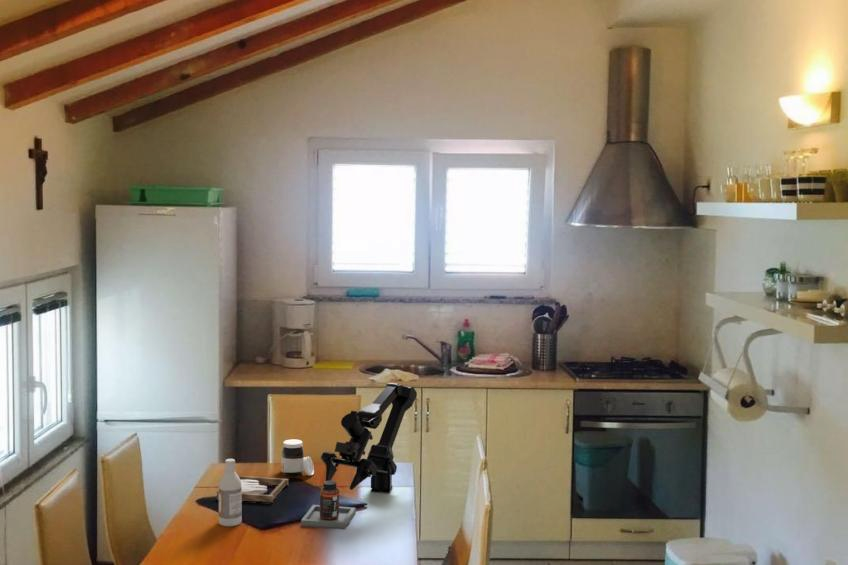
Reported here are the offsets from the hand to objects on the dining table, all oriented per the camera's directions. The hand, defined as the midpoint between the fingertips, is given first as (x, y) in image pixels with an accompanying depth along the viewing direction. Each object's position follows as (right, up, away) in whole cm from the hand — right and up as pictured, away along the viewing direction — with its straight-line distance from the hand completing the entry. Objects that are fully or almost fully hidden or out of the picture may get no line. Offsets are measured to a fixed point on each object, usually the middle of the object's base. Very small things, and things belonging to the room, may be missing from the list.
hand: (338, 486), depth 294 cm
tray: (-3, -9, -4) cm, 10 cm away
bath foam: (-33, -10, -8) cm, 35 cm away
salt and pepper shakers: (-32, -7, +19) cm, 37 cm away
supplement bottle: (-3, -9, -3) cm, 10 cm away
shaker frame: (-31, -6, +20) cm, 37 cm away
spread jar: (-18, -5, +41) cm, 45 cm away
